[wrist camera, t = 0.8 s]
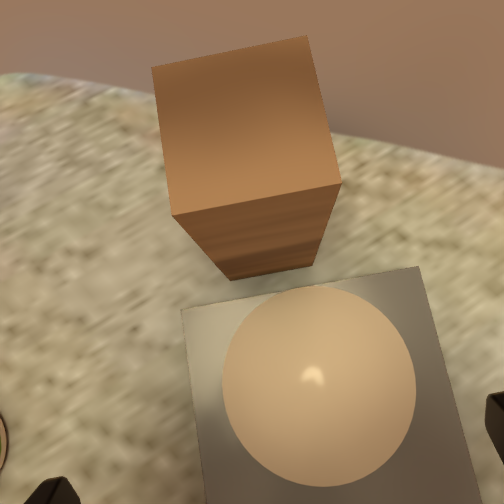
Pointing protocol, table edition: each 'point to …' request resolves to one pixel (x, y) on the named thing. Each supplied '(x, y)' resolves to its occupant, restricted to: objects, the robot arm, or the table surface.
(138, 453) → the table surface
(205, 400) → the slate board
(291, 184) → the walnut block
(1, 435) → the supplement bottle
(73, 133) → the table surface
